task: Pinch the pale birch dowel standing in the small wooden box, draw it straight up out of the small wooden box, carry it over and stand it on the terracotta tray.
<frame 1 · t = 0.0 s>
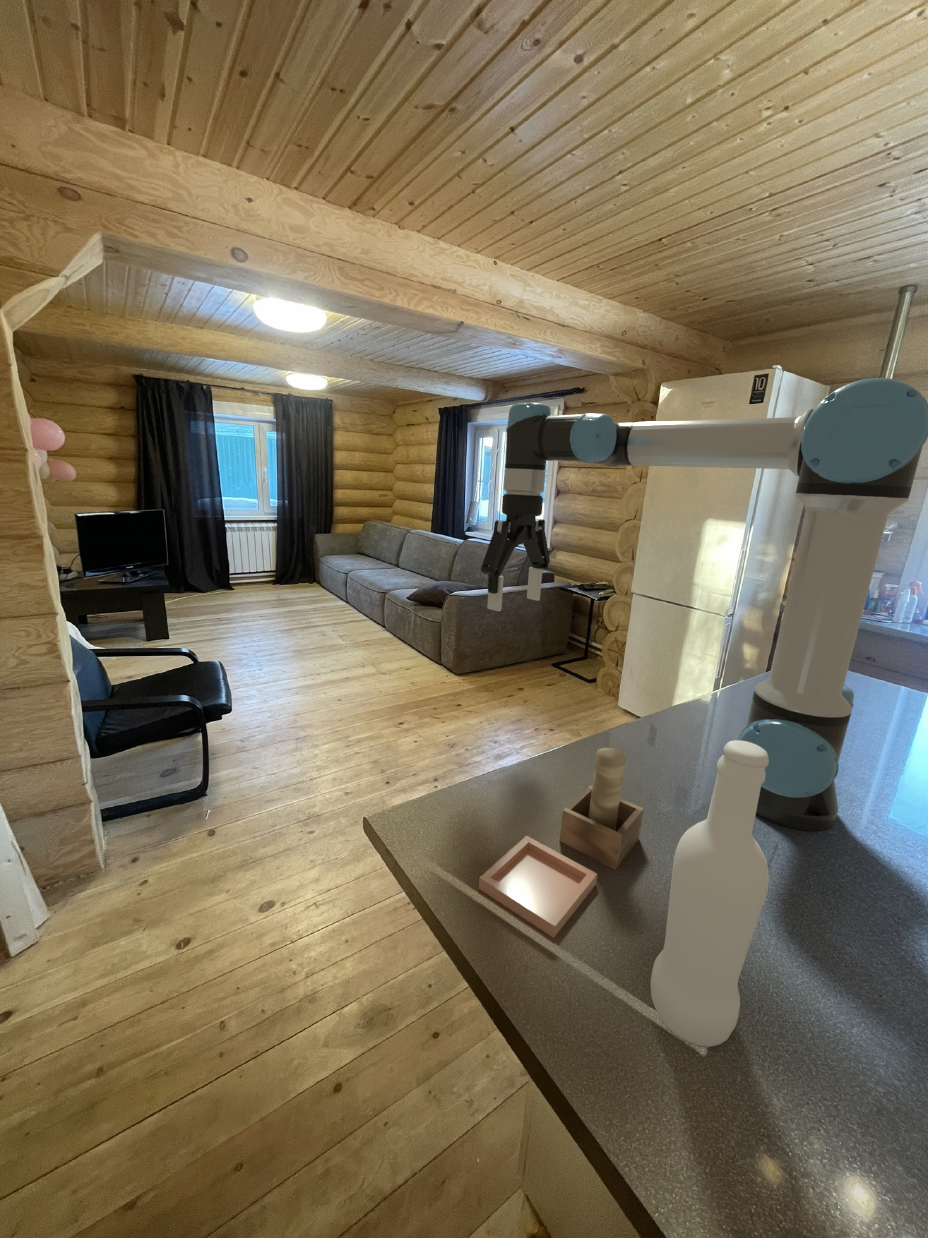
hand: (514, 604, 101), 28 cm above the countertop, fingers open, 13 cm apart
dowel: (599, 839, 76), point 1 cm above the countertop, touching small wooden box
bottle: (689, 1012, 52), on the countertop
tray: (537, 891, 67), on the countertop
small wooden box: (598, 844, 76), on the countertop
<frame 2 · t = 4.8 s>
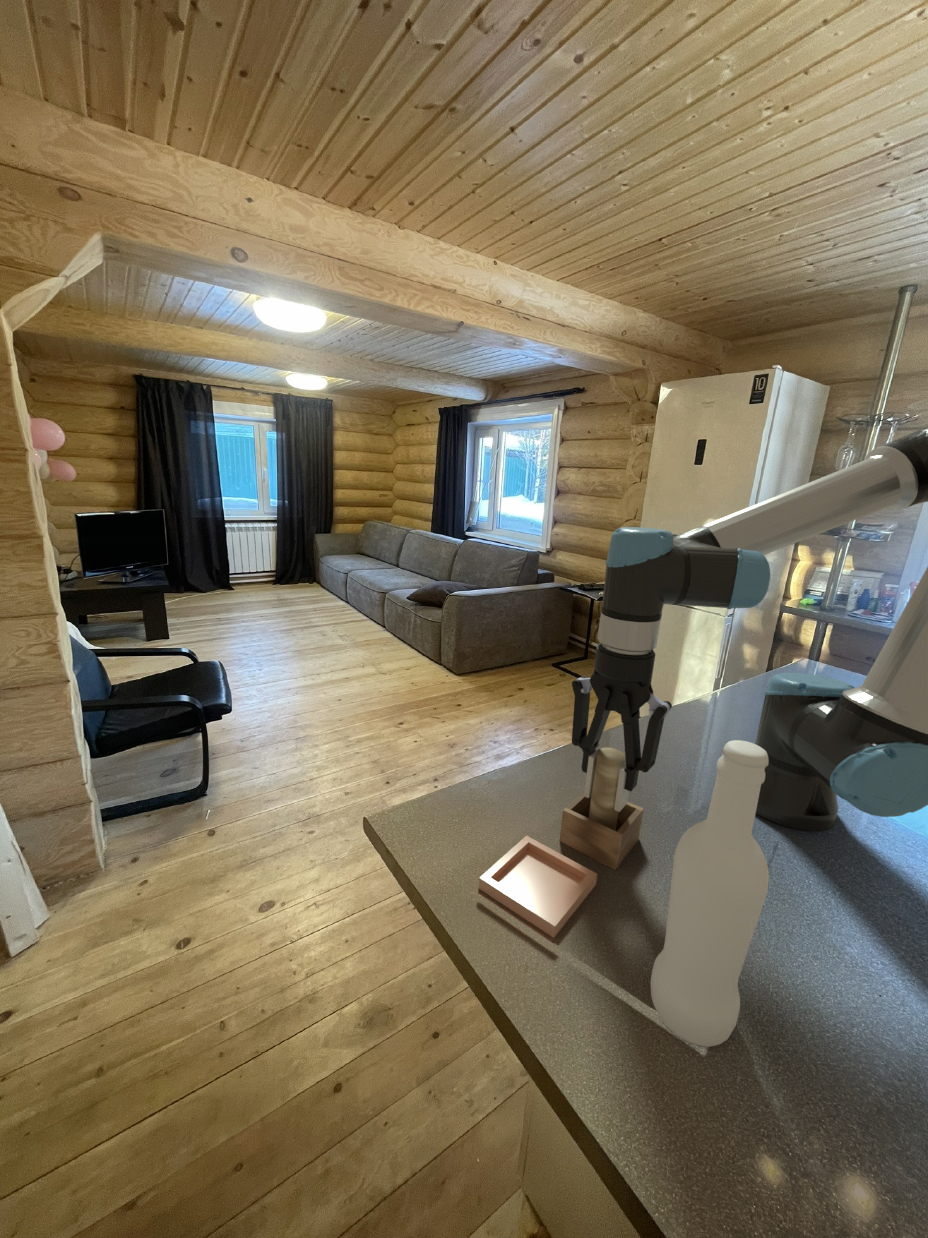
hand: (605, 799, 74), 8 cm above the countertop, fingers closed on dowel, 4 cm apart
dowel: (599, 839, 76), point 1 cm above the countertop, touching small wooden box, gripper
everything else where it was.
when the fingers open (9 cm above the countertop, at t = 11.1 s): dowel drops 2 cm, resting on tray.
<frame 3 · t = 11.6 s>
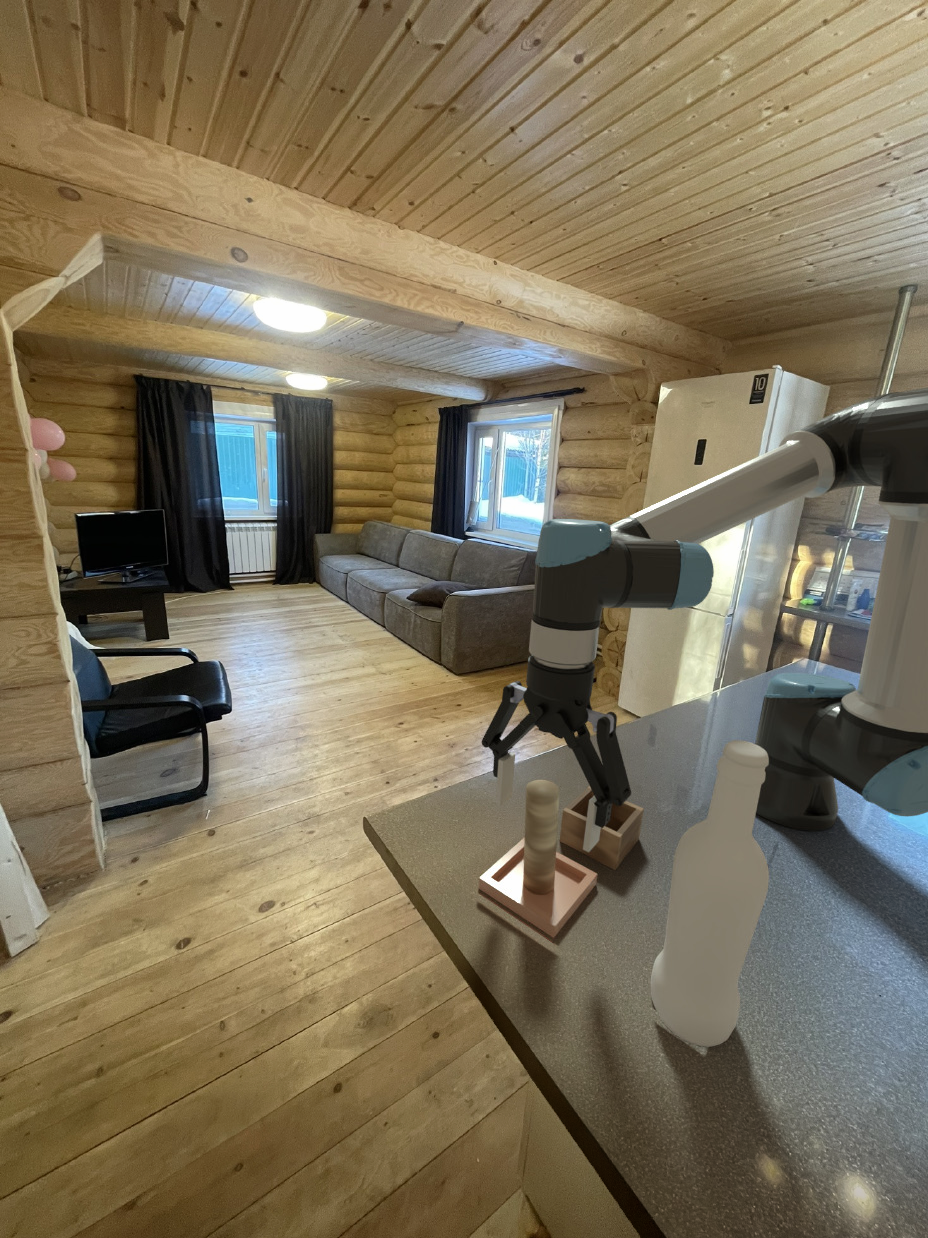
hand: (544, 821, 64), 11 cm above the countertop, fingers open, 12 cm apart
dowel: (538, 882, 66), point 1 cm above the countertop, touching tray
everything else where it was.
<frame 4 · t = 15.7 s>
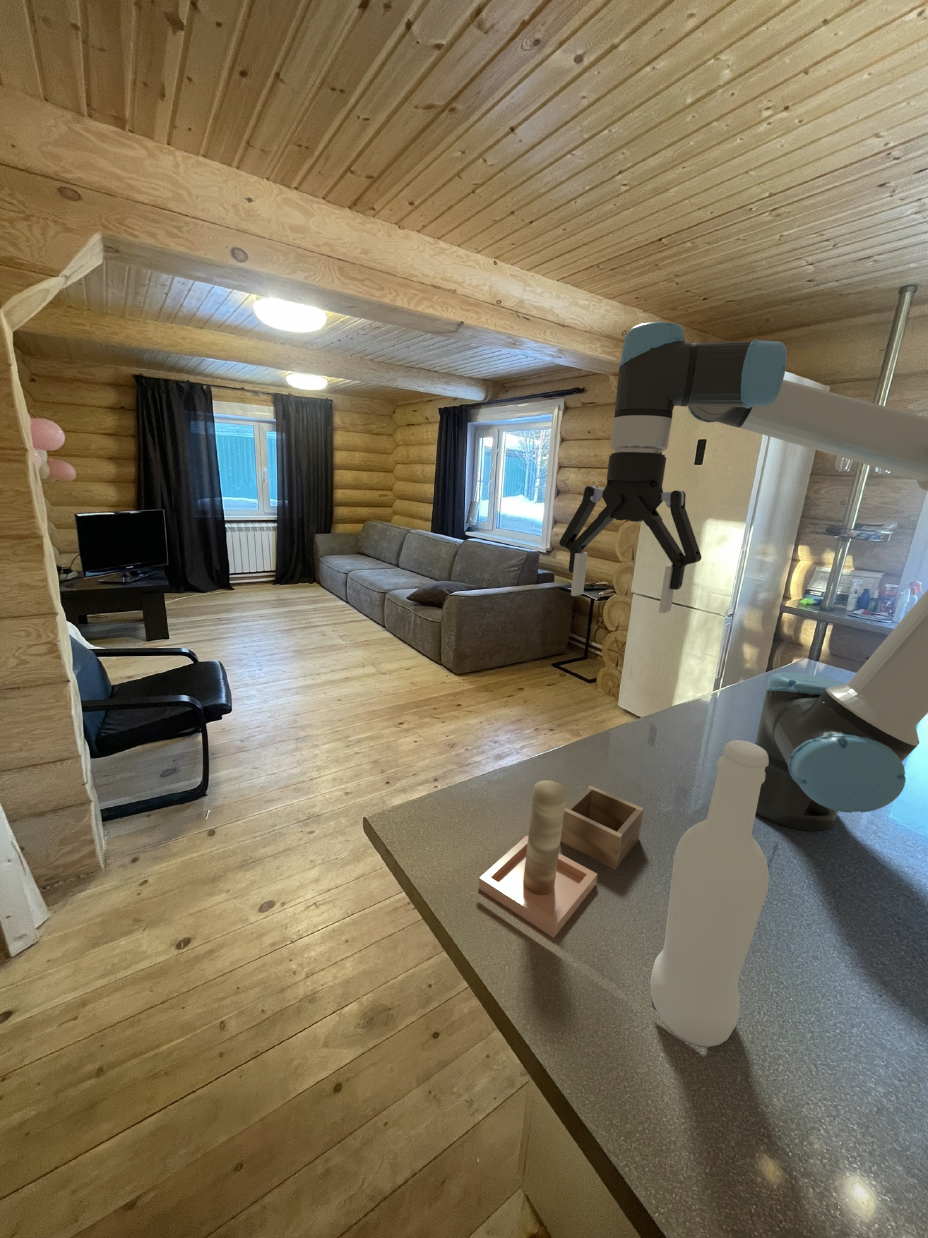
hand: (618, 602, 76), 35 cm above the countertop, fingers open, 13 cm apart
nothing on the countertop moved.
at the end: dowel inside the target area on the tray (0.1 cm from its centre), point 1.3 cm above the tray's base; dowel tilted 2°; the gripper is holding nothing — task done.
